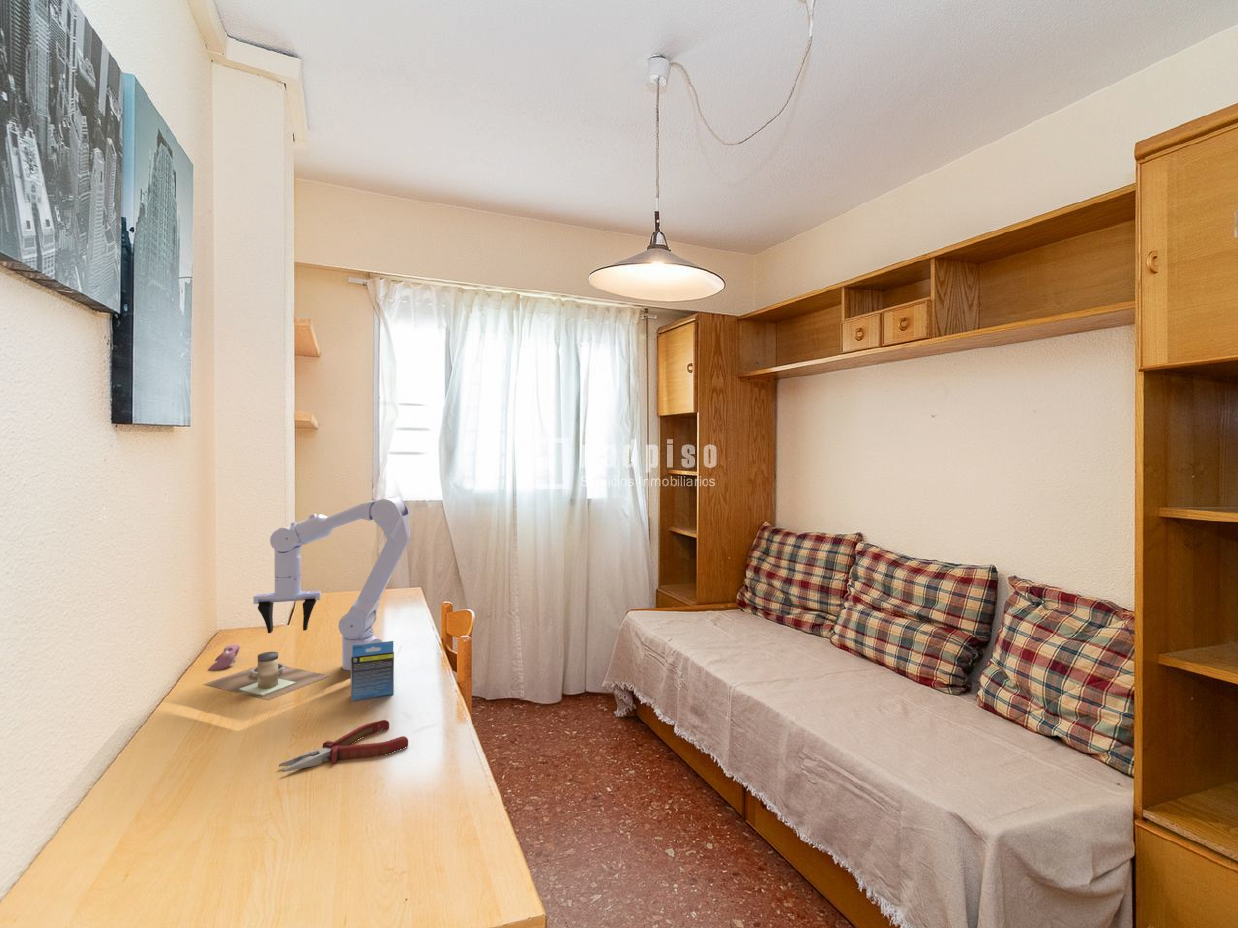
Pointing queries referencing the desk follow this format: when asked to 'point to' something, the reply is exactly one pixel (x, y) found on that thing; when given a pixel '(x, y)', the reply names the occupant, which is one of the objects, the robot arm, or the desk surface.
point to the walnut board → (245, 679)
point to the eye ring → (280, 670)
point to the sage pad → (255, 690)
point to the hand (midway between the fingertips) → (287, 630)
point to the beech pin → (267, 670)
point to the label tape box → (372, 670)
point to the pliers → (348, 748)
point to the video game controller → (226, 657)
